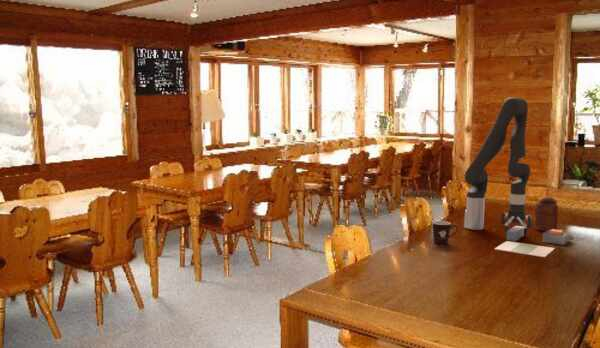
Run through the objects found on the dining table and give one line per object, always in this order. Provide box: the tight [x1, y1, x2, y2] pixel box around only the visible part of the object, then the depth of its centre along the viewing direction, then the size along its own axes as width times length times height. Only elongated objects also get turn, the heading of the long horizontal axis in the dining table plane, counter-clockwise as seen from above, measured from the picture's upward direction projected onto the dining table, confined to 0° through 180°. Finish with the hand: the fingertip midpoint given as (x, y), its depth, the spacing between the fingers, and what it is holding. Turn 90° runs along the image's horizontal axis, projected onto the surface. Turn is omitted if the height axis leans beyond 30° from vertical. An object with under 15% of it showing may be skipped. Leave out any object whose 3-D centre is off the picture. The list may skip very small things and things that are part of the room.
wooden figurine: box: [534, 196, 559, 232], centre depth 290 cm, size 12×6×18 cm, turn 54°
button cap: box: [550, 229, 564, 235], centre depth 268 cm, size 5×5×3 cm
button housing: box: [541, 230, 571, 246], centre depth 268 cm, size 10×10×4 cm
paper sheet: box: [494, 240, 556, 258], centre depth 254 cm, size 22×18×1 cm
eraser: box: [506, 225, 524, 242], centre depth 276 cm, size 4×15×4 cm, turn 142°
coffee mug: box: [431, 220, 459, 246], centre depth 264 cm, size 12×9×10 cm
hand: (515, 234), depth 276 cm, fingers open, 8 cm apart
